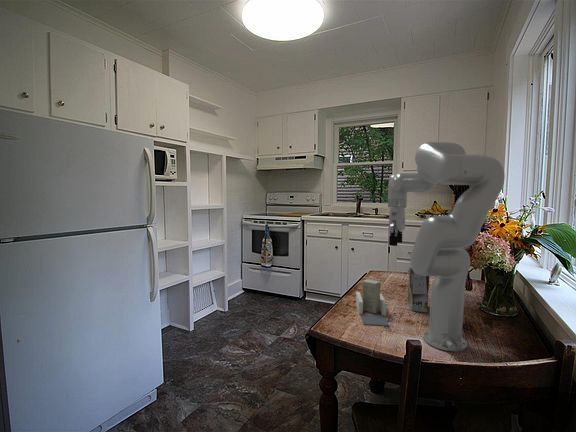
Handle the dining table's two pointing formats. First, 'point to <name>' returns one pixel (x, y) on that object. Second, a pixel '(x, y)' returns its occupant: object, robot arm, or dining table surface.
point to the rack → (360, 304)
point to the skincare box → (371, 295)
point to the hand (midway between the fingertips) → (395, 244)
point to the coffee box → (418, 292)
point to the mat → (374, 320)
